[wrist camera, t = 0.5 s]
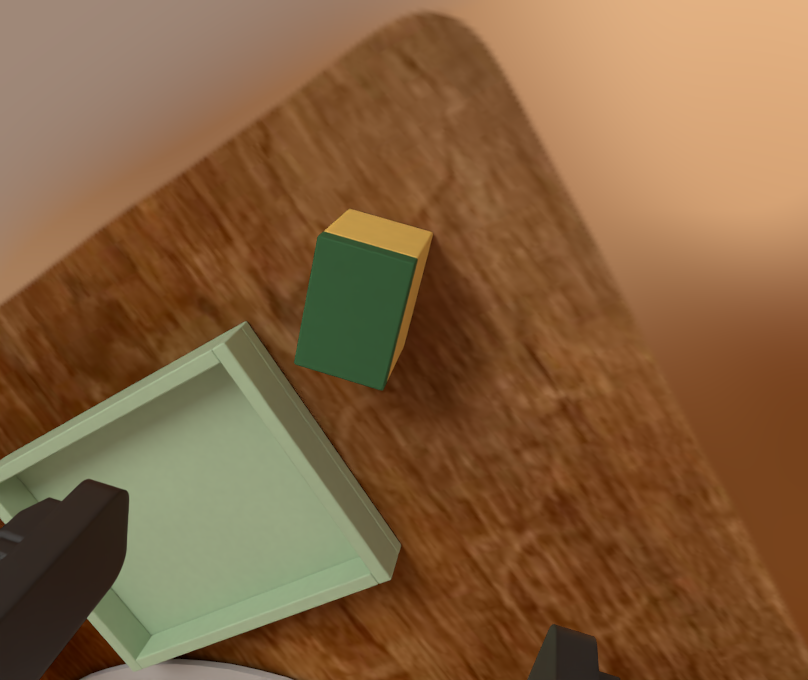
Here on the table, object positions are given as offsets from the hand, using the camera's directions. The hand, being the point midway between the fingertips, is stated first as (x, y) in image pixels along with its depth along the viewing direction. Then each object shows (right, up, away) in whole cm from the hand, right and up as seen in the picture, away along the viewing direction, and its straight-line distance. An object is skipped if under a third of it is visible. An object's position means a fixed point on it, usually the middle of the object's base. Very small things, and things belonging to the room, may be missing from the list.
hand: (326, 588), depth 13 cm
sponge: (0, +7, +12) cm, 14 cm away
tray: (-7, -2, +18) cm, 19 cm away
